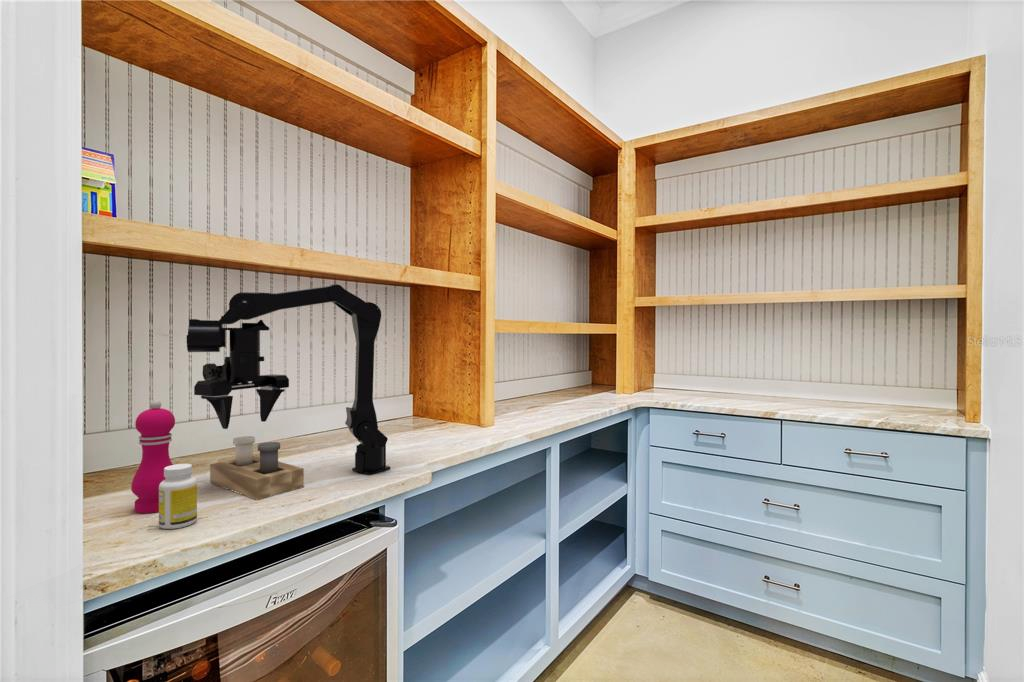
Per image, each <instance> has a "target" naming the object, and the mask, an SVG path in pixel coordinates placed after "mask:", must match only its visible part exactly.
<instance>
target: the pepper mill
mask: <svg viewBox="0 0 1024 682" xmlns="http://www.w3.org/2000/svg"><path fill="white" fill-rule="evenodd" d="M161 407H162V402H161V401H160V400H157V399H155V400H152V401H151V402H150V403H149V409H145V410H143V411H142V412H140V413H139V414H138V415H137V418H135V425H134V426H135V429H136V431H137V432H138V433H140V436H139V437H138V439H139V441H138V444H139V445H140V446H141V449H142V456H141V460H140V463H139V466H138V468H137V470H136V472H135V474H134V476H133V478H132V481H131V488H130V489H131V492H132V494H133V495H134V496H136V497H137V499H135V501H134V511H135V513H139V514H152V513H153V514H155V513H159V485H160V483H161V482H162V481H163V480H165V479H166V477H164V468H165V467H167V466H171V465H174V464H173V462H172V461H171V458H170V451H169V449H170V443H171V442H172V441H173V439H172V436H173V433H171V430H173V428H174V427H175V424H176V418H175V415H174V414H173V412H172V411H170V410H169V409H166V408H161Z"/></svg>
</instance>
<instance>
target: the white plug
mask: <svg viewBox="0 0 1024 682" xmlns="http://www.w3.org/2000/svg"><path fill="white" fill-rule="evenodd" d="M232 442H233V443H232V444H233V445H235V446H234V447H235V454H234V456H235V457H234V458H235V459H234V460H235V466H238V467H240V466H244V465H249V464H253V456H254V443H256V437H255V436H254V435H253V436H250V435H245V436H244V435H243V436H238V437H234V438H233V440H232Z"/></svg>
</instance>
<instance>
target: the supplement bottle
mask: <svg viewBox="0 0 1024 682" xmlns="http://www.w3.org/2000/svg"><path fill="white" fill-rule="evenodd" d="M191 474H193V464H191V463H177V464H176V463H175V464H173V465H171V466H167V467H165V468H164V477H166V479H165V480H163V481H162V482H161V483H160V485H159V512H158V526H159V528H160V529H162V530H163V529H164V530H172V529H173V530H175V529H180V528H185V527H188V526H190V525H192V524H194V523H195V522H196V521H197V518H198V482H197V479H196V477H194V476H193V475H191Z"/></svg>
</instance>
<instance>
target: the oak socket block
mask: <svg viewBox="0 0 1024 682" xmlns="http://www.w3.org/2000/svg"><path fill="white" fill-rule="evenodd" d="M304 470H305V469H304V467H300V466H296V465H293V464H289V463H286V462H282V461H279V460H278V471H277V472H273V473H269V474H261V473H260V455H255V454H254V455H253V464H249V465H244V466H240V467H238V466H235V459H231V460H230V459H229V460H225V461H220V462H216V463H215V462H213V463H210V464H209V483H210V482H211V483H210V484H212V483H214V484H213V485H215V484H217V485H219V486H218V487H220V486H222V487H221V488H223V487H225V488H228V489H230V490H229V491H231V490H233V491H232V492H234V491H236V492H239V493H241V494H240V495H242V494H244V495H246V496H245V497H247V496H248V498H250V497H251V498H250V499H252V498H253V500H255V499H256V500H255V501H258V499H259V500H261V499H262V498H263V499H266V498H269V497H268V496H270V497H273V496H272V495H274V496H277V495H281V494H284V493H287V491H288V492H292V491H294V489H295V490H298V489H297V488H299V489H302V488H301V487H303V488H304V487H305V485H304V482H305V480H304V477H305V475H304V474H305V472H304ZM217 485H216V486H217ZM225 488H224V489H225ZM228 489H227V490H228ZM291 490H292V491H291ZM236 492H235V493H236ZM283 492H284V493H283ZM239 493H238V494H239ZM280 493H281V494H280ZM276 494H277V495H276ZM244 495H243V496H244ZM265 497H266V498H265Z"/></svg>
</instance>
